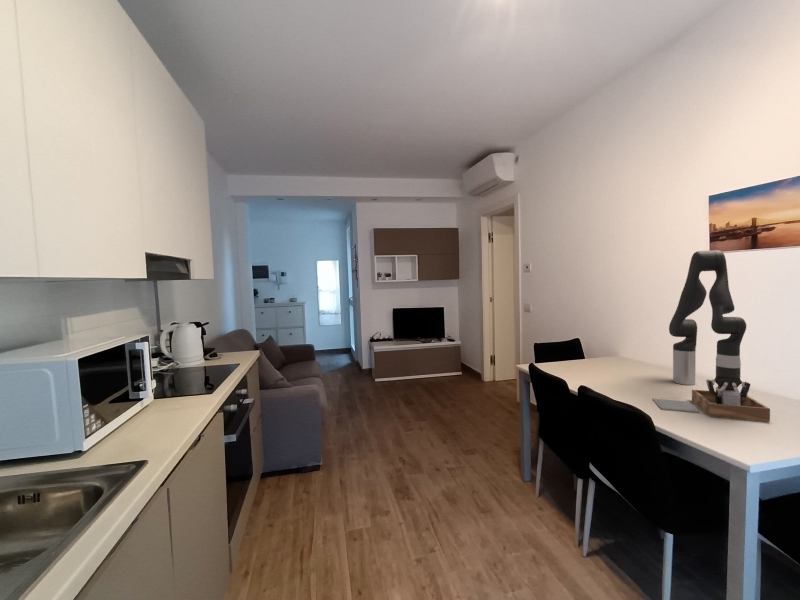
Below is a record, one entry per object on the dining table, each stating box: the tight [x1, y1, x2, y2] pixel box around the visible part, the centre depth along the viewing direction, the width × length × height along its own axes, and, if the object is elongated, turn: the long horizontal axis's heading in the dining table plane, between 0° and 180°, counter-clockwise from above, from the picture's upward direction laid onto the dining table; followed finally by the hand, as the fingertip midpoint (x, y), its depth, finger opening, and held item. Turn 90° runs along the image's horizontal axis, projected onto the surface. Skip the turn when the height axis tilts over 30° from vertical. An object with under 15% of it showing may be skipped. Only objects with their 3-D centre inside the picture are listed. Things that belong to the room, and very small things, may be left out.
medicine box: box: [715, 386, 741, 406], centre depth 149 cm, size 8×4×9 cm, turn 168°
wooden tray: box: [691, 389, 771, 423], centre depth 149 cm, size 20×18×5 cm
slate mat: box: [652, 398, 700, 414], centre depth 156 cm, size 13×13×1 cm
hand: (727, 405), depth 149 cm, fingers closed on medicine box, 5 cm apart
